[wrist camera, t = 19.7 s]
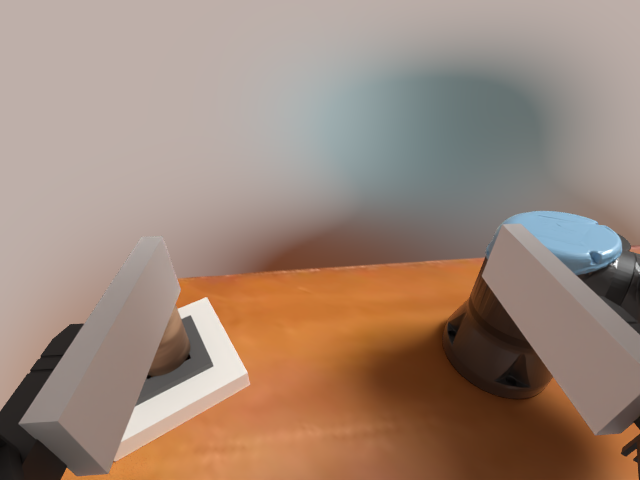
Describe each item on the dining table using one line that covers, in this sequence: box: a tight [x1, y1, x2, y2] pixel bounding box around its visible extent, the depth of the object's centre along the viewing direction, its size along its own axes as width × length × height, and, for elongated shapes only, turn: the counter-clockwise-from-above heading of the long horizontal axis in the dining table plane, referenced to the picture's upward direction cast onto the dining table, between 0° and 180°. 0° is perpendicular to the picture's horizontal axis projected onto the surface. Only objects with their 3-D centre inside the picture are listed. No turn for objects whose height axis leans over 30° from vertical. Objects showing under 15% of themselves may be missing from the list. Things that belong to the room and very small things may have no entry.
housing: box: [114, 297, 250, 462], centre depth 46 cm, size 17×17×4 cm
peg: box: [148, 304, 191, 376], centre depth 43 cm, size 7×7×16 cm
